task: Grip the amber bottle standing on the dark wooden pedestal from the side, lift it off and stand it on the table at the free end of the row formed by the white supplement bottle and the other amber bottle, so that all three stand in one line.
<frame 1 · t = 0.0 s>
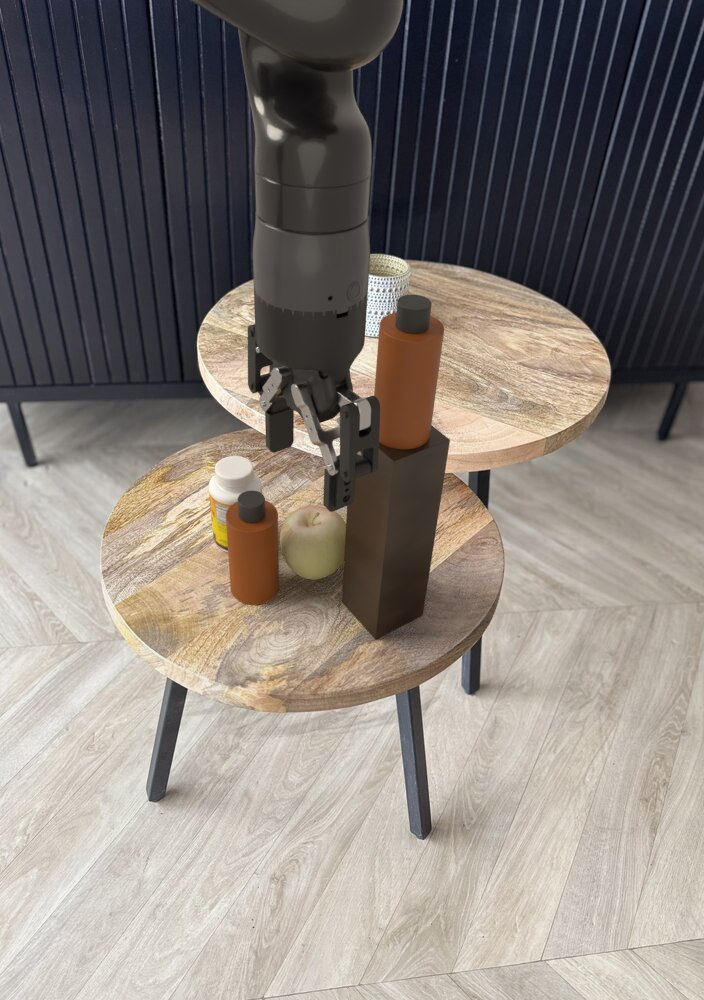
hand: (307, 475, 63), 22 cm above the table, tool pointing down, fingers open, 8 cm apart
amber bottle A: (254, 587, 84), on the table
supplement bottle: (238, 541, 90), on the table
amber bottle B: (400, 432, 68), point 22 cm above the table, touching pedestal
pedestal: (381, 608, 83), on the table
fruit: (314, 566, 87), on the table
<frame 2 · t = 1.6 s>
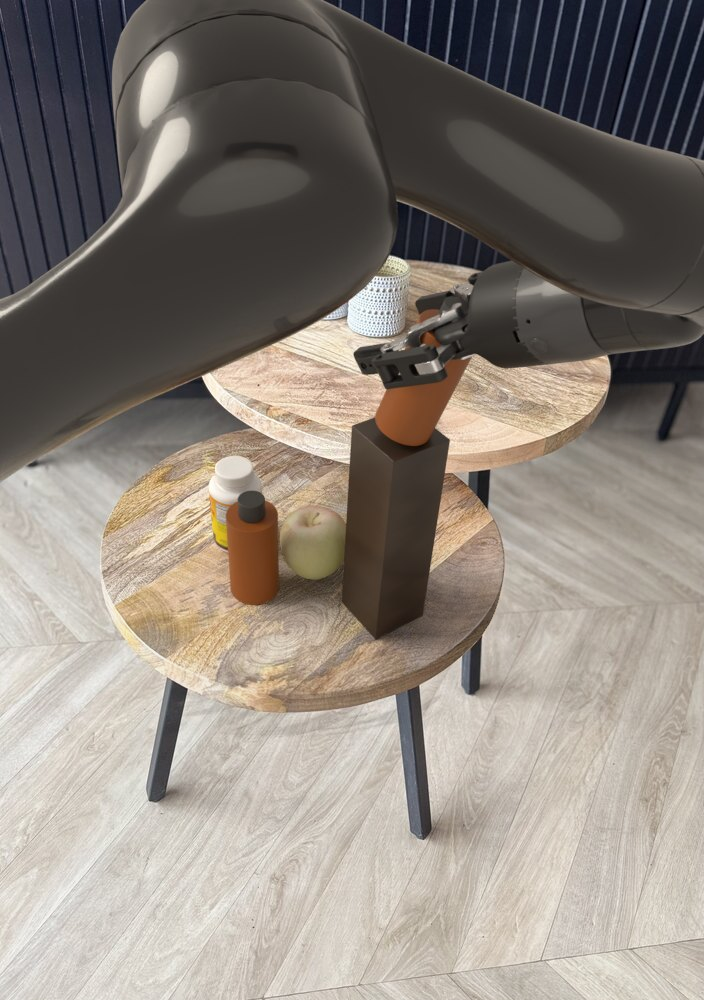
hand: (391, 335, 68), 29 cm above the table, tool tilted 60°, fingers open, 8 cm apart
amber bottle B: (402, 425, 68), point 23 cm above the table, tilted 16°, touching pedestal
everything else where it was.
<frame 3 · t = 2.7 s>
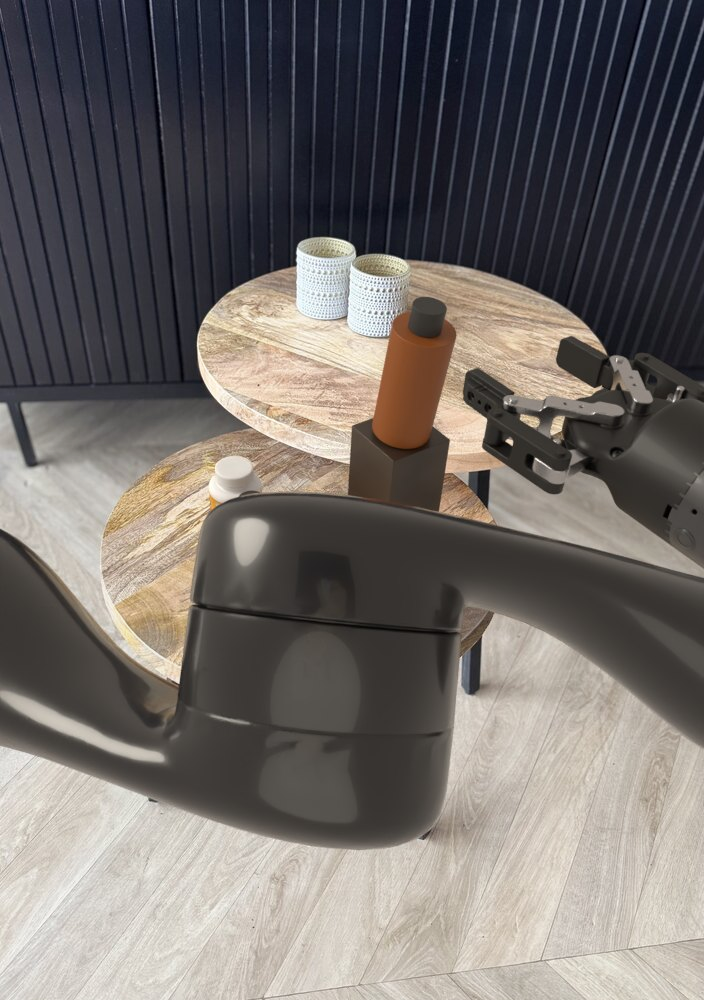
hand: (516, 364, 54), 34 cm above the table, tool horizontal, fingers open, 8 cm apart
amber bottle B: (401, 429, 68), point 22 cm above the table, tilted 7°, touching pedestal
everything else where it was.
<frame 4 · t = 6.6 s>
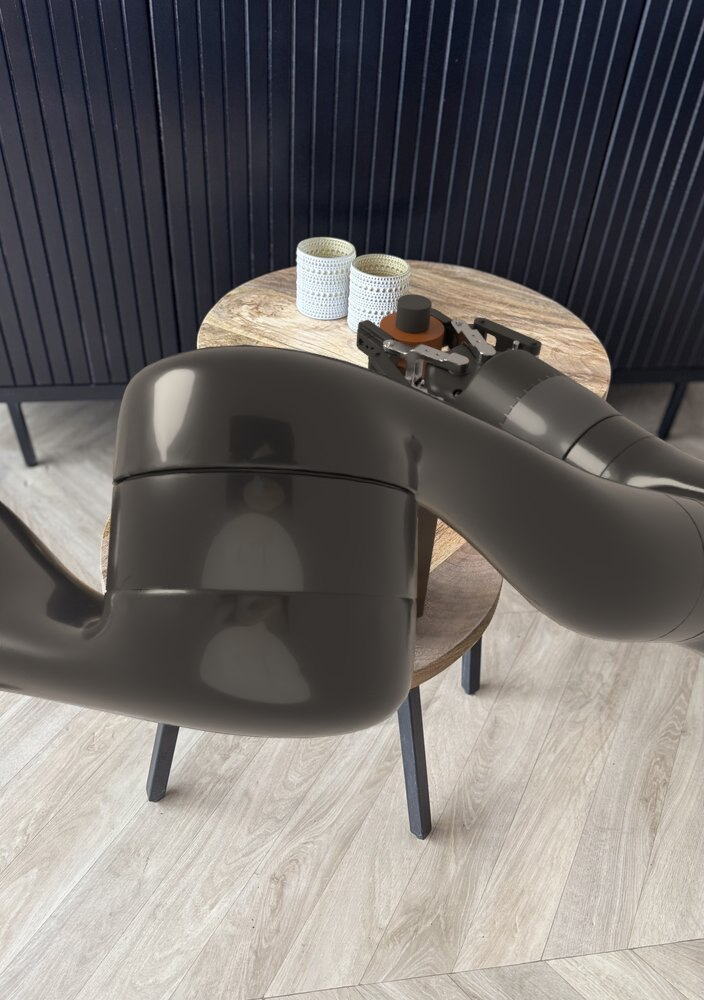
hand: (390, 323, 64), 31 cm above the table, tool horizontal, fingers closed on amber bottle B, 5 cm apart
amber bottle B: (400, 432, 68), point 22 cm above the table, touching gripper, pedestal
everything else where it was.
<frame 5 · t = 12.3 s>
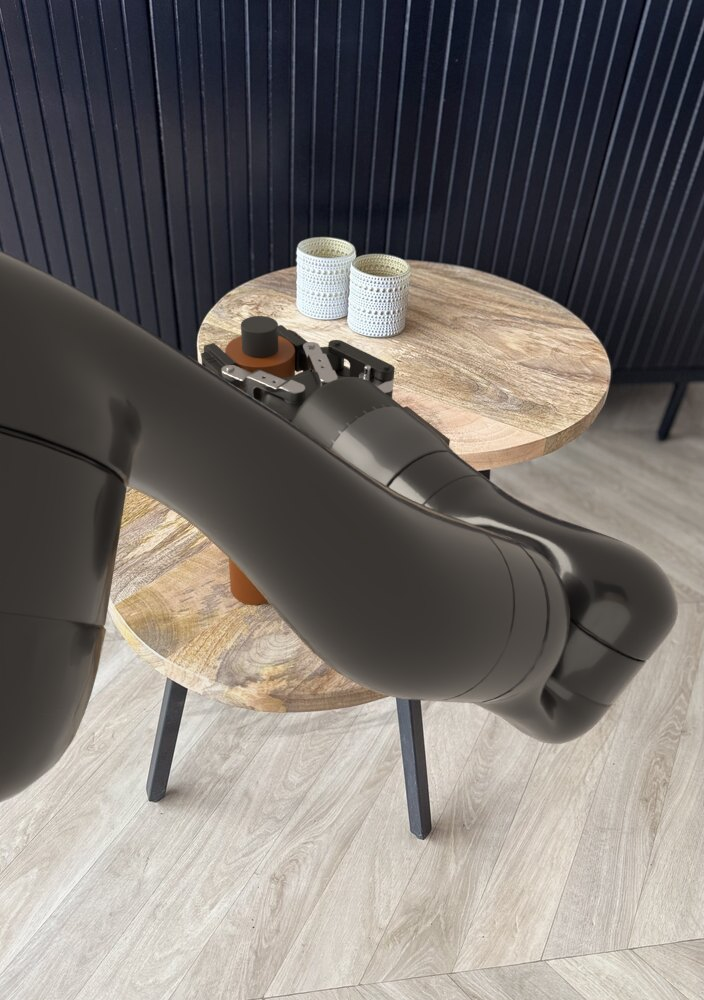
hand: (242, 346, 60), 31 cm above the table, tool horizontal, fingers closed on amber bottle B, 5 cm apart
amber bottle B: (263, 460, 64), point 22 cm above the table, touching gripper
everything else where it was.
when the fingers open (9 cm above the table, at t = 18.5 s): amber bottle B stays where it is, on the table.
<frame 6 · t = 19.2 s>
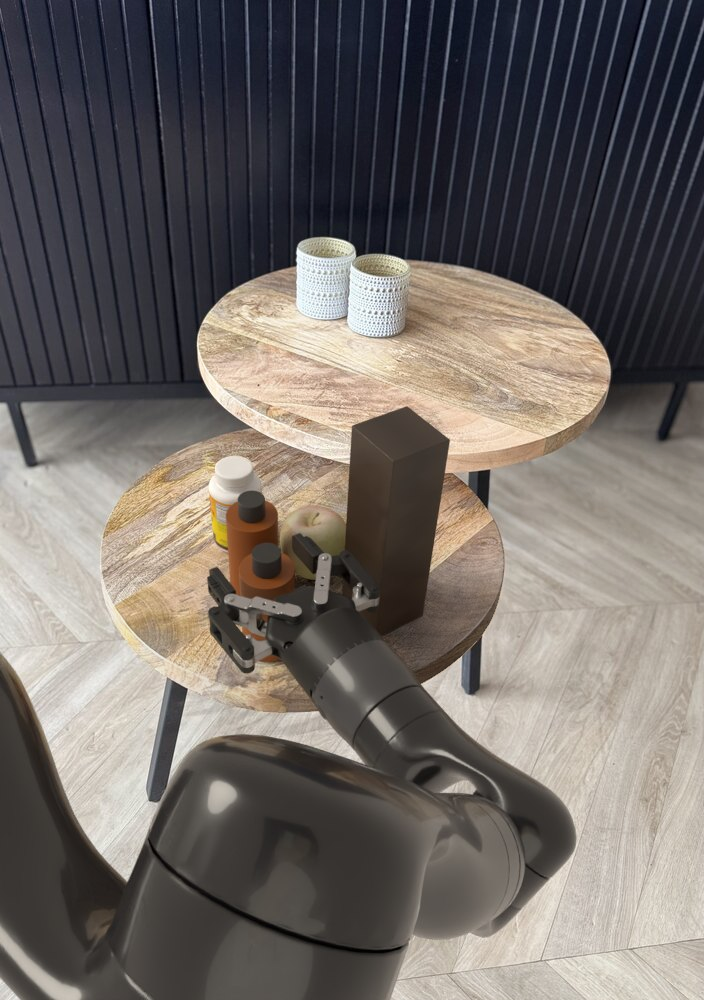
hand: (254, 557, 74), 10 cm above the table, tool horizontal, fingers open, 8 cm apart
amber bottle B: (268, 641, 78), on the table
everything else where it was.
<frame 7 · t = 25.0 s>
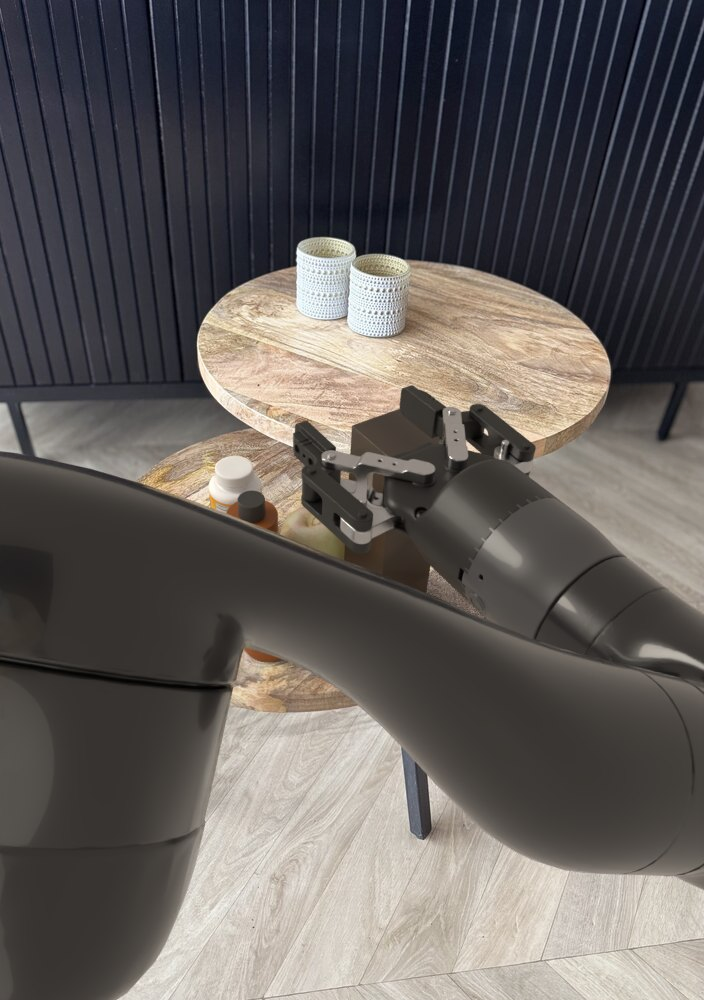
hand: (353, 414, 54), 31 cm above the table, tool horizontal, fingers open, 8 cm apart
nothing on the table moved.
at the end: amber bottle B 0.6 cm from the target spot on the table beside the supplement bottle, on the table; amber bottle B tilted 0°; amber bottle A moved 0.0 cm from its start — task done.
